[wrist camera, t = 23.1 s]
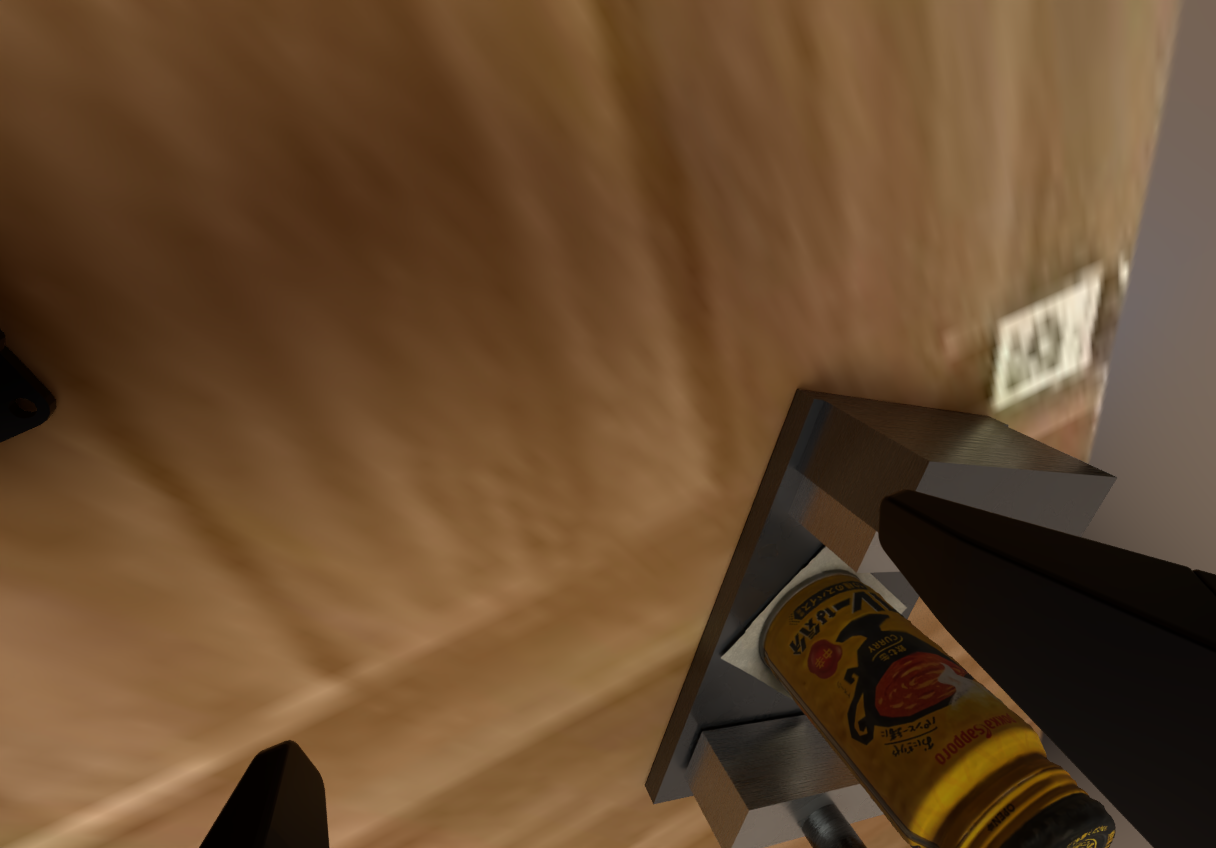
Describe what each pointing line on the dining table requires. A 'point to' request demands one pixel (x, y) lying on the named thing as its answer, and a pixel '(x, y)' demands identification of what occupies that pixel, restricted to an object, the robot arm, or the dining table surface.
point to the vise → (856, 531)
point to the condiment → (913, 719)
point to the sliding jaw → (776, 786)
